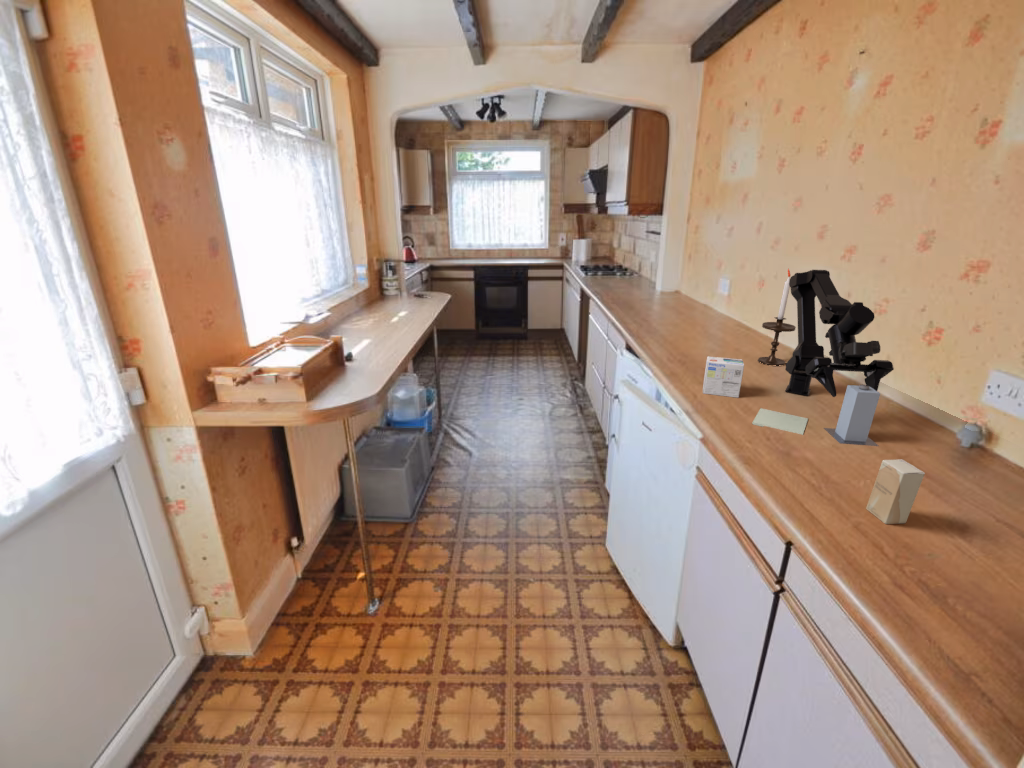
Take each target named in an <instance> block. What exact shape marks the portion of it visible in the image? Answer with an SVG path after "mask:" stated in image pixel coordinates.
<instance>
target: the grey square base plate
mask: <svg viewBox="0 0 1024 768" xmlns="http://www.w3.org/2000/svg"><path fill="white" fill-rule="evenodd" d="M823 429H824V431H826V432H827V433H828V434H829V435H830V436H831V437H832V438H834V440H836V442H838V444H843V445H853V446H854V445H856V446H857V445H858V446H868V447H869V446H870V447H880V446H879V445H878V443H876V442H875V441H874V440H872V439H871V438H870V437H869V436H868V437H867V440H866V442H862V441H848V440H844V439H843V438H841V437H840V436H839V435H838V434H837V433H836V432H835V430H836V428H832V427H831V428H830V427H823Z"/></svg>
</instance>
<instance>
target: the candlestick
mask: <svg viewBox="0 0 1024 768" xmlns="http://www.w3.org/2000/svg"><path fill="white" fill-rule="evenodd" d="M790 278H791V272H790V269H789V268H788V269H787V279H786V281H784V286H783V290H782V296H781V300H780V304H779V309H778V313H777V317H774V319H775V320H776V322H775V321H766V322H762V325H761V327H762V328H763V329H766V330H770V331H773V332H774V338H773V341H771V342H770V345H771V346H772V347H771V348H770V349H769V350H770V352H771V353H770V355H769V356H760V357H758V359H757V362H758V361H759V362H758V363H760V362H761V363H760V364H762V363H763V364H762V365H765V364H767V365H766V366H769V365H776V366H775V367H780V366H779V365H784V364H785V365H786V361H785V360H784V359H781V358H779V357H778V358H777V357H776V352H777V351H778V349H777V348H778V346H780V342H779V337H780V334H781V333H782V332H783V333H784V332H785V333H786V332H795V331H796V328H797V327H796V326H795V325H793V324H791V323H785V322H784V320H787V318H786V317H784V316H785V313H786V308H787V303H788V298H789V295H790V294H789V293H790V290H791V288H790V286H789V281H790ZM785 365H784V366H785Z"/></svg>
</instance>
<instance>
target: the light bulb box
mask: <svg viewBox="0 0 1024 768" xmlns="http://www.w3.org/2000/svg"><path fill="white" fill-rule="evenodd" d="M744 368H745V363H744V361H743V359H739V358H729V357H720V356H719V357H717V356H716V357H715V356H708V355H707V357H706V362H705V370H704V376H703V383H702V384H703V385H702V394H703V395H704V394H706V395H712V396H721V397H730V398H740V393H741V385H742V380H743V375H744Z"/></svg>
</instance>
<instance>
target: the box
mask: <svg viewBox="0 0 1024 768" xmlns="http://www.w3.org/2000/svg"><path fill="white" fill-rule="evenodd" d="M925 474H926V473H925V472H924V471H923V470H921V469H919V468H917V467H916V466H915V465H913V464H911V463H909V462H907V461H906V460H904V459H901V458H900V459H899V458H898V459H883V460H882V461H881V464H880V467H879V470H878V472H877V476H876V478H875V481H874V485H873V486H872V490H871V493H870V496H869V498H868V501H867V505H866V507H865V509H866V510H867V511H868V512H870V514H872V515H874V517H876V518H877V519H878V520H879V521H881V522H882V523H884V524H885V525H895V524H896V525H897V524H906V523H907V520H908V518H909V516H910V513H911V511H912V508H913V505H914V504H915V503H914V502H915V500H916V497H917V495H918V492H919V490H920V487H921V484H922V483H923V479H924V478H925Z"/></svg>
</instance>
